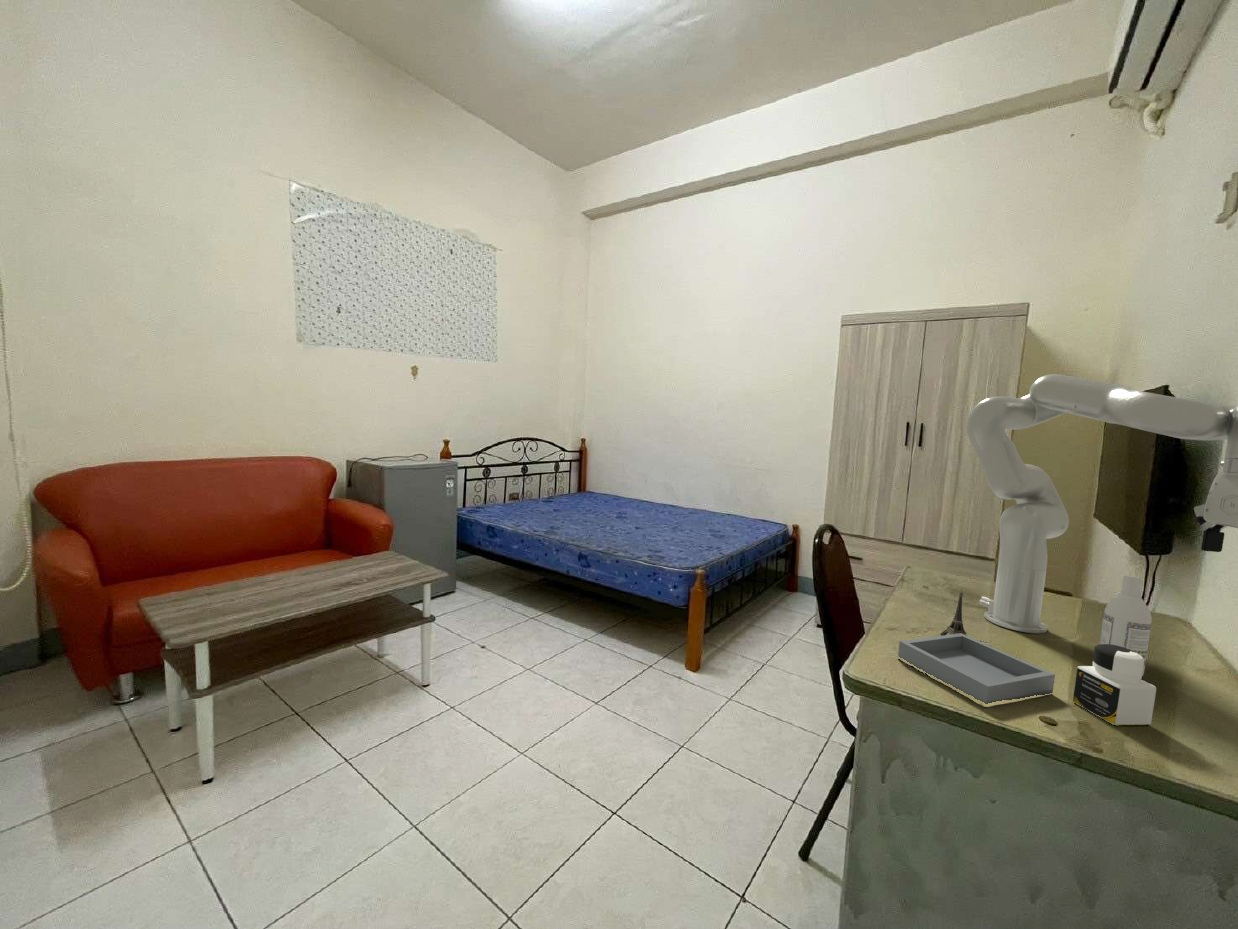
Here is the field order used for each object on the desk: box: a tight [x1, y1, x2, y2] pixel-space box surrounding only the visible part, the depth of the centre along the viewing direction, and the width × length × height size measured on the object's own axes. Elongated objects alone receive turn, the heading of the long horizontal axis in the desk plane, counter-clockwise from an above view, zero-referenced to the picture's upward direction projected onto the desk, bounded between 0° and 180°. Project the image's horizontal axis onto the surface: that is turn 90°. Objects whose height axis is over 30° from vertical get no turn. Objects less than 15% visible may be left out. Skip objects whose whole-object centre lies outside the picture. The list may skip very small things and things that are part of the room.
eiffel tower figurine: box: [939, 588, 989, 643], centre depth 112 cm, size 15×10×13 cm
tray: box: [897, 633, 1056, 704], centre depth 97 cm, size 18×18×4 cm
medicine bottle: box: [1072, 643, 1157, 725], centre depth 85 cm, size 7×7×12 cm
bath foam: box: [1099, 575, 1153, 677], centre depth 102 cm, size 7×7×20 cm
